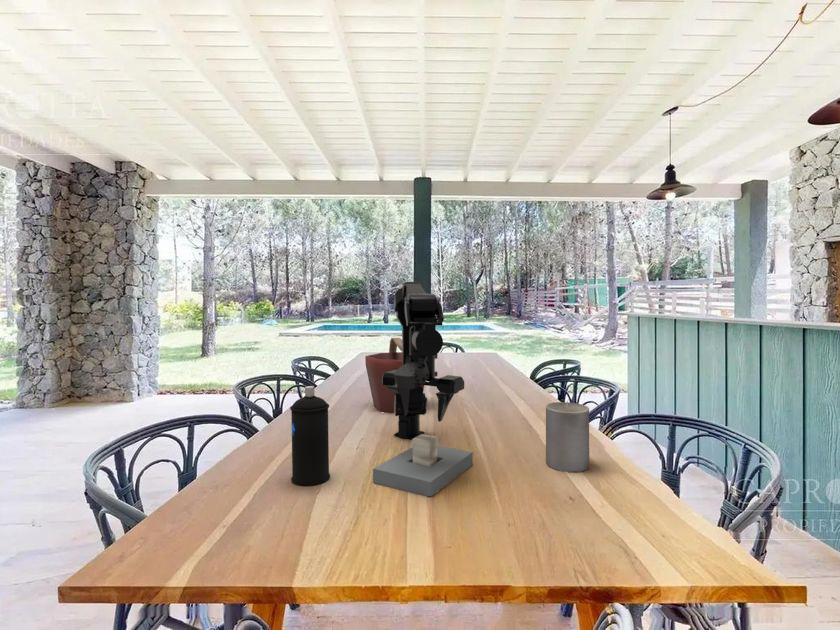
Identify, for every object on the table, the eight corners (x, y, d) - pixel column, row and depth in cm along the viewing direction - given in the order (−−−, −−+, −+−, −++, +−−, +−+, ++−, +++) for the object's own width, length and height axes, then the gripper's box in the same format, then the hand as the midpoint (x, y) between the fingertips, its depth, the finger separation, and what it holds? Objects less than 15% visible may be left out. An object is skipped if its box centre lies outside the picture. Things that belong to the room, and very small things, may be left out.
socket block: (421, 454, 113) (421, 442, 113) (472, 464, 106) (472, 452, 106) (373, 482, 96) (372, 468, 96) (430, 497, 88) (430, 482, 88)
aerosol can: (337, 473, 101) (336, 384, 100) (317, 488, 93) (315, 391, 92) (305, 469, 103) (304, 382, 102) (283, 483, 95) (281, 389, 95)
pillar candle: (558, 454, 112) (558, 394, 112) (596, 464, 105) (596, 400, 105) (537, 465, 106) (537, 401, 105) (577, 476, 99) (577, 408, 98)
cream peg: (421, 468, 103) (421, 434, 103) (437, 472, 101) (437, 436, 101) (412, 474, 100) (412, 438, 100) (428, 478, 98) (428, 441, 98)
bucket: (427, 416, 149) (427, 341, 148) (360, 416, 149) (360, 341, 148) (427, 400, 173) (427, 335, 172) (370, 400, 173) (369, 335, 172)
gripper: (367, 351, 100) (367, 421, 101) (441, 357, 90) (441, 434, 91) (395, 346, 109) (395, 409, 110) (465, 351, 100) (465, 421, 101)
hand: (422, 418), depth 103 cm, fingers open, 9 cm apart
